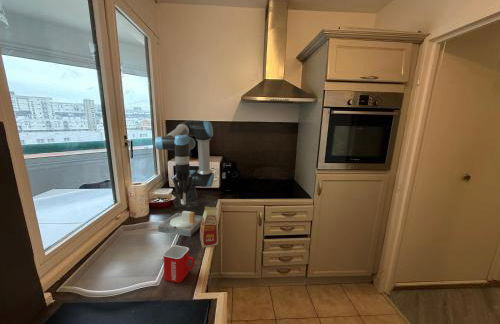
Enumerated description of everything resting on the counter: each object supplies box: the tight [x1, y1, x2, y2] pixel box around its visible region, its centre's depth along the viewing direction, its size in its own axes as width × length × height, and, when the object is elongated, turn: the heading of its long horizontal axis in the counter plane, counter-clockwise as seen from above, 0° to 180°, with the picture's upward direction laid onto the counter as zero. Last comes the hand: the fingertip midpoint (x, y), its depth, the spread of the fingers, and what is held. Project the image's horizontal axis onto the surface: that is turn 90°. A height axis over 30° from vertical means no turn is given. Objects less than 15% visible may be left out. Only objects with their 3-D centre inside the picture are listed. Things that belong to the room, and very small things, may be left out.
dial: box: [170, 210, 196, 228], centre depth 131 cm, size 15×15×7 cm
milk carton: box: [199, 206, 219, 249], centre depth 114 cm, size 9×9×20 cm
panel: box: [157, 212, 203, 237], centre depth 131 cm, size 20×20×4 cm
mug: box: [162, 245, 195, 284], centre depth 88 cm, size 12×8×11 cm
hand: (183, 203), depth 124 cm, fingers closed
